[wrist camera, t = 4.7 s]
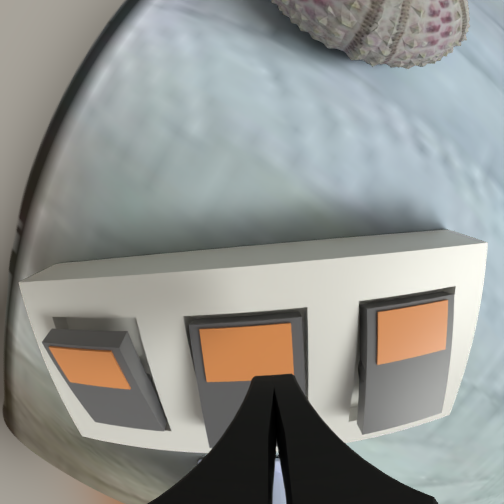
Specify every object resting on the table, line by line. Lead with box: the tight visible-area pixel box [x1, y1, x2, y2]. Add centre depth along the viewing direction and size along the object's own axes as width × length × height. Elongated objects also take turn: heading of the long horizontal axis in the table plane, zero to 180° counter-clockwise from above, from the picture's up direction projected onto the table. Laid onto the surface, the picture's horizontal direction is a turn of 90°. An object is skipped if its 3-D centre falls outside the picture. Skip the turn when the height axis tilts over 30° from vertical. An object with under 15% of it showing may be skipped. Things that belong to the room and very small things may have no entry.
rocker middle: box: [189, 311, 305, 448], centre depth 14 cm, size 7×5×2 cm
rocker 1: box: [42, 328, 167, 431], centre depth 14 cm, size 7×5×2 cm
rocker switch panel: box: [19, 229, 488, 453], centre depth 16 cm, size 12×26×4 cm, turn 95°
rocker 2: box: [357, 291, 454, 435], centre depth 13 cm, size 7×5×2 cm
